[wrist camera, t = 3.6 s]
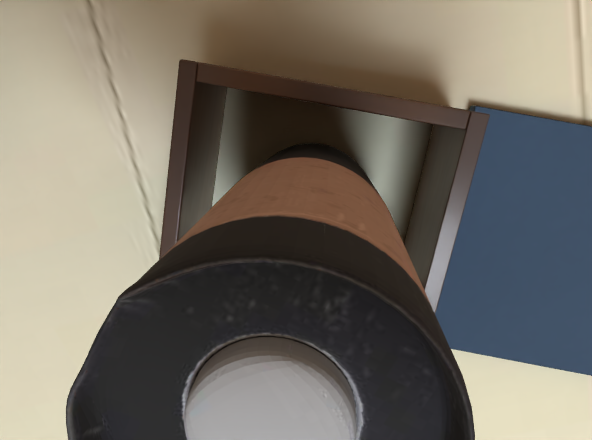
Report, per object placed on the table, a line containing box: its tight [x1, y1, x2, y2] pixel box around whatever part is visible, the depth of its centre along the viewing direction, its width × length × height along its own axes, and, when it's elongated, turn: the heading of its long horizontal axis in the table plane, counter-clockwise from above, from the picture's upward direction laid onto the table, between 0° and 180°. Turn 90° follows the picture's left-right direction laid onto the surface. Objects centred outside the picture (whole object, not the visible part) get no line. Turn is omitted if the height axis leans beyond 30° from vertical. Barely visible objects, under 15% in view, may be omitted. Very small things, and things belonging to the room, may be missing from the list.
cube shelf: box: [159, 59, 490, 313], centre depth 25 cm, size 13×13×6 cm
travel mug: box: [66, 143, 475, 440], centre depth 18 cm, size 8×8×20 cm
